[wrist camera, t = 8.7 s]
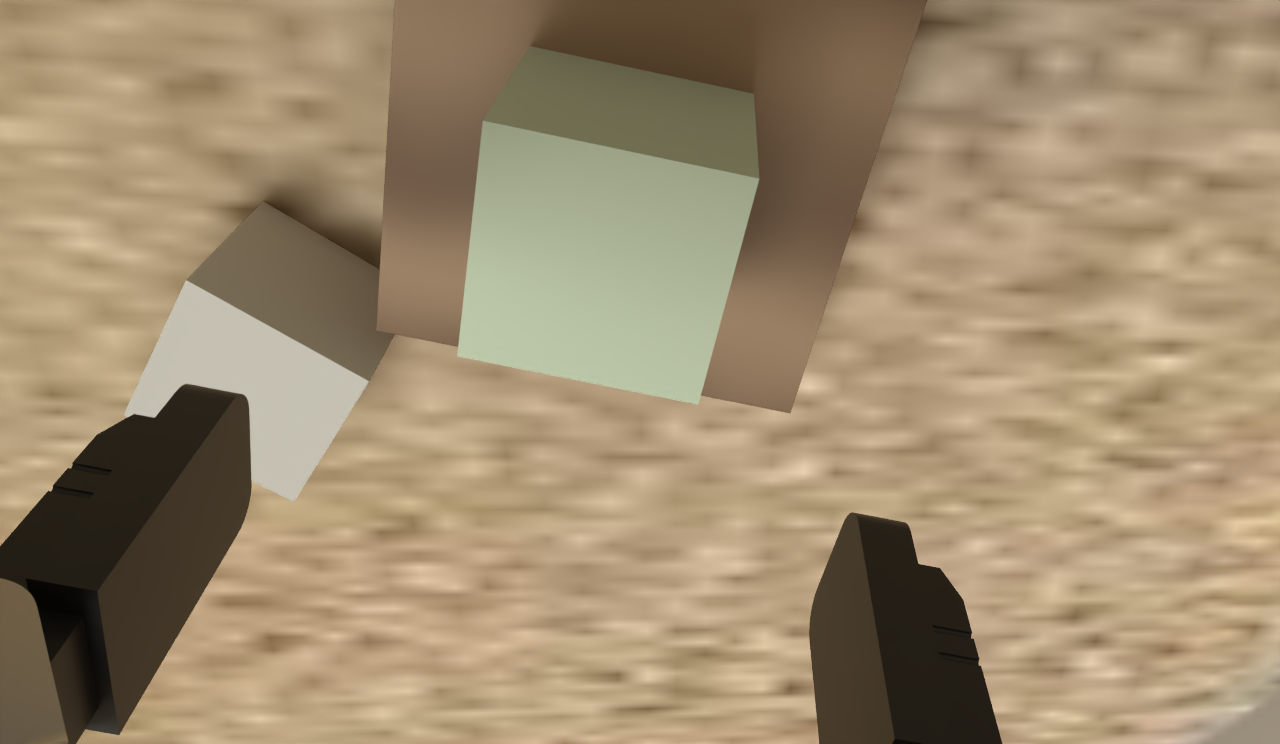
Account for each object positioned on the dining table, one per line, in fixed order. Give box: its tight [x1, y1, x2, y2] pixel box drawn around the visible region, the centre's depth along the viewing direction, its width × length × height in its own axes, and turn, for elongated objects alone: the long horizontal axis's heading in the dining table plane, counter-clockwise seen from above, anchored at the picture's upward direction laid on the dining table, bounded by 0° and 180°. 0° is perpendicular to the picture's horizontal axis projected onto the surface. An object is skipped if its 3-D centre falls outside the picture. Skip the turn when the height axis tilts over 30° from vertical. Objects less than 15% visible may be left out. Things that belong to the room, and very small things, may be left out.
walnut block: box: [376, 0, 927, 413], centre depth 25 cm, size 11×11×4 cm
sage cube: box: [457, 46, 759, 405], centre depth 21 cm, size 5×5×5 cm
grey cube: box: [124, 201, 395, 502], centre depth 29 cm, size 5×5×5 cm
